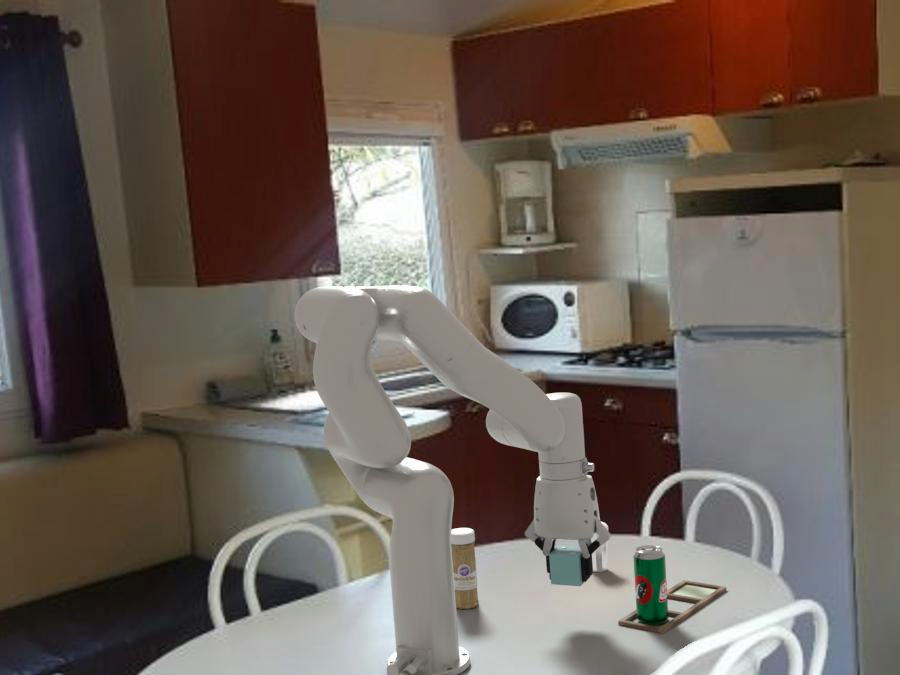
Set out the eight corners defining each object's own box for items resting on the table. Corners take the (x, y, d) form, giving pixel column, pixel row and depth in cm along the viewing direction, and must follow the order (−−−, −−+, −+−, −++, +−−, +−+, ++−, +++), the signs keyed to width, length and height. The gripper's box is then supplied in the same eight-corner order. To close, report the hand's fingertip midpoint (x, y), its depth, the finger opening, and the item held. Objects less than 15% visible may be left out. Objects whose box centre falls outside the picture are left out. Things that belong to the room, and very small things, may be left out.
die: (580, 586, 180) (578, 555, 179) (551, 584, 182) (549, 554, 181) (589, 576, 184) (587, 546, 184) (560, 574, 186) (558, 544, 186)
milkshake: (583, 574, 207) (580, 522, 206) (588, 565, 212) (585, 514, 211) (607, 575, 206) (604, 522, 205) (612, 566, 211) (609, 514, 210)
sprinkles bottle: (457, 611, 193) (452, 535, 191) (450, 603, 197) (444, 529, 196) (482, 607, 194) (477, 531, 192) (474, 599, 198) (469, 525, 197)
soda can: (668, 626, 179) (664, 553, 177) (636, 626, 180) (632, 554, 179) (668, 615, 184) (664, 544, 182) (637, 615, 185) (633, 544, 183)
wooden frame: (663, 633, 176) (662, 629, 176) (618, 624, 181) (618, 621, 181) (726, 590, 193) (726, 587, 193) (683, 583, 198) (683, 580, 198)
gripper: (619, 465, 181) (626, 574, 183) (521, 463, 188) (529, 568, 190) (606, 476, 174) (614, 589, 176) (505, 473, 181) (513, 582, 183)
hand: (570, 577), depth 183 cm, fingers closed on die, 4 cm apart
